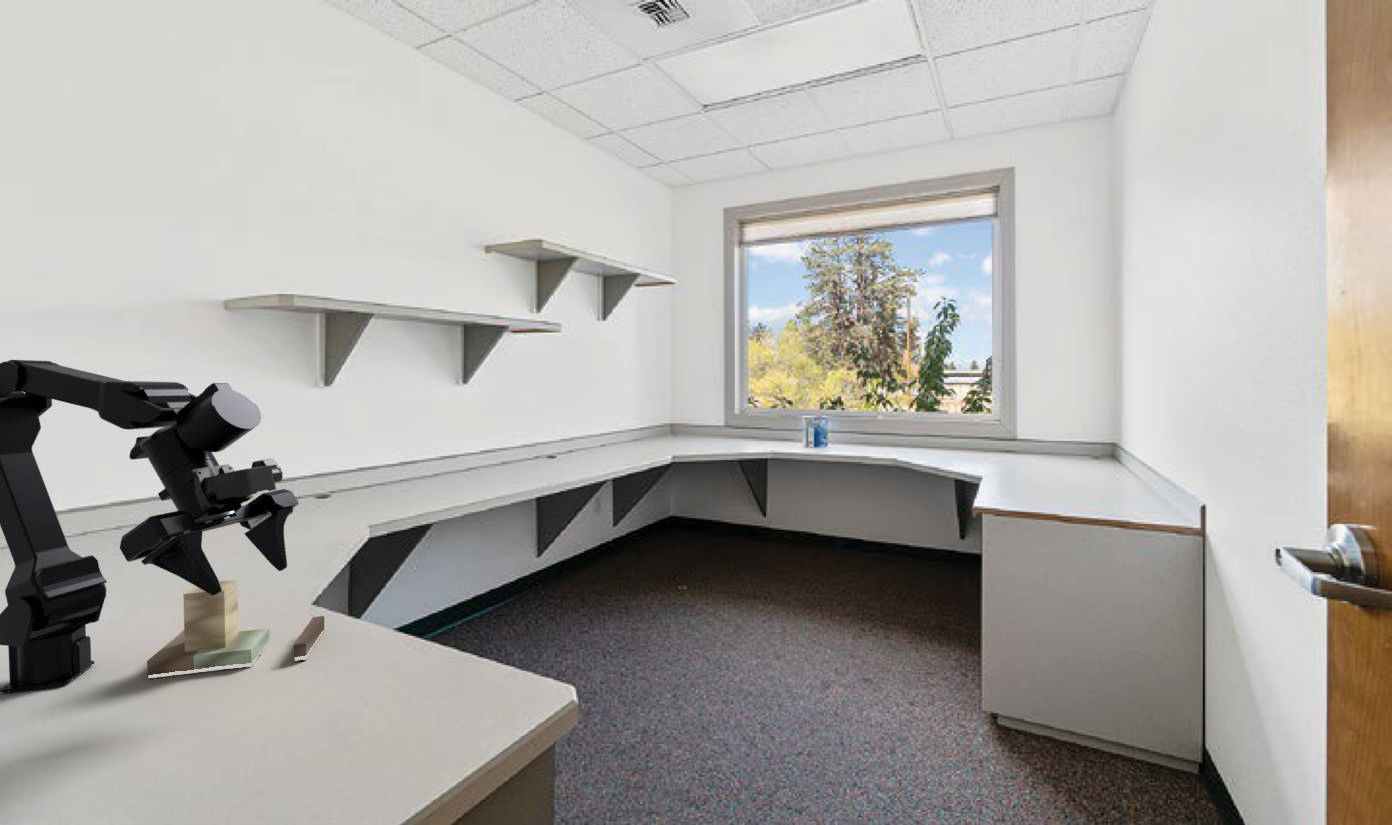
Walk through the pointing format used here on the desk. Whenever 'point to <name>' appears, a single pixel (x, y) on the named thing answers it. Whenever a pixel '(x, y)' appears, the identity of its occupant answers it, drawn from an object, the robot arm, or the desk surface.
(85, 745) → the desk surface
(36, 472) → the robot arm
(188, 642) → the beech block
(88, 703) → the desk surface
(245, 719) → the desk surface
